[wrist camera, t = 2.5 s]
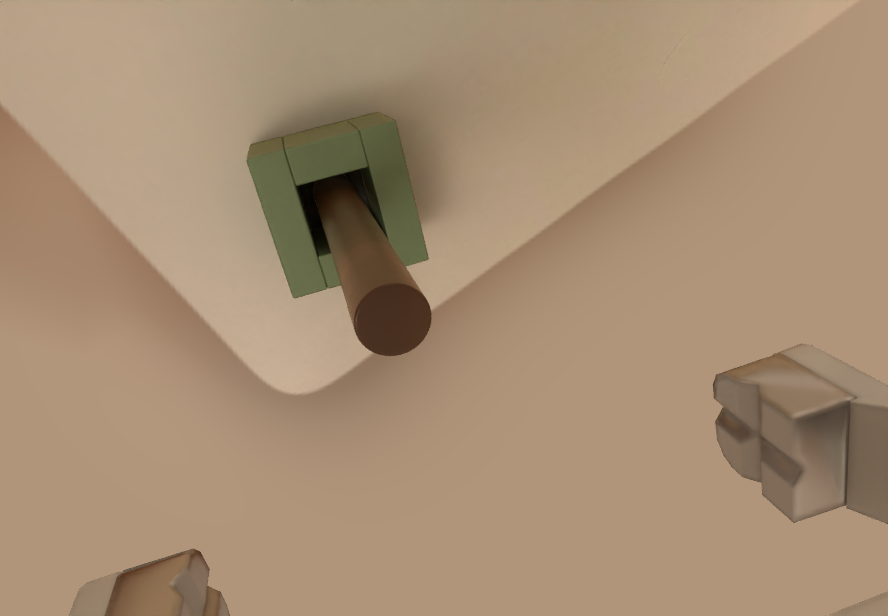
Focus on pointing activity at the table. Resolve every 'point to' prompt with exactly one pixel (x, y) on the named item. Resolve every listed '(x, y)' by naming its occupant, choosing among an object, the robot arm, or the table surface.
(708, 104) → the table surface
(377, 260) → the stick
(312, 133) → the holder
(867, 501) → the robot arm
